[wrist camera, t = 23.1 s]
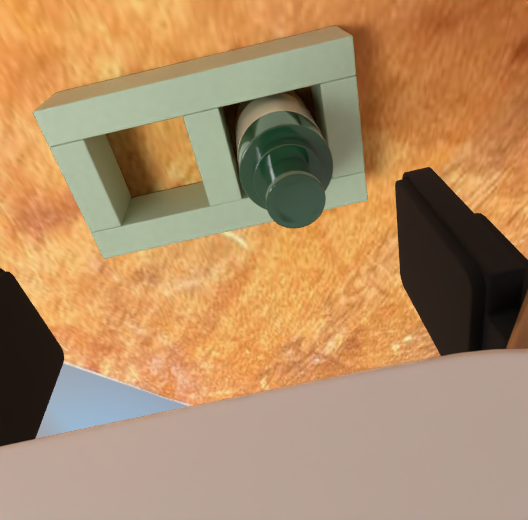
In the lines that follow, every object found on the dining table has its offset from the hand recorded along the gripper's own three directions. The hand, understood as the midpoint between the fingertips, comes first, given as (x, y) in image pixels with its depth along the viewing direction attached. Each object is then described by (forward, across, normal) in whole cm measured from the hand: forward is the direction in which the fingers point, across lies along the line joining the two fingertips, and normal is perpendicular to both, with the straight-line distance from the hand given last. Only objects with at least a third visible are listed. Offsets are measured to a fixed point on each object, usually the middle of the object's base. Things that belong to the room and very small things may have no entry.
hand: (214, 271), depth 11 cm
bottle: (+23, -3, +5) cm, 24 cm away
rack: (+23, +2, +5) cm, 24 cm away
